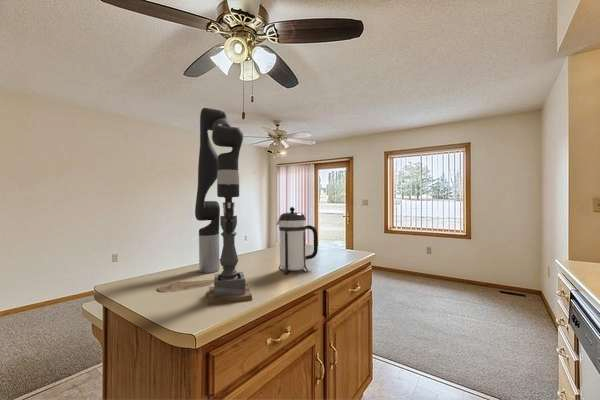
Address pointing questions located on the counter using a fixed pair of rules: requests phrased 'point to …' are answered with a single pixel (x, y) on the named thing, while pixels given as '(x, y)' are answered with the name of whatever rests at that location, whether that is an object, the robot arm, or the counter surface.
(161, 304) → the counter surface
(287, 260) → the coffee press
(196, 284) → the fish fossil
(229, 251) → the candle holder
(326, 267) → the counter surface
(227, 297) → the collar socket
